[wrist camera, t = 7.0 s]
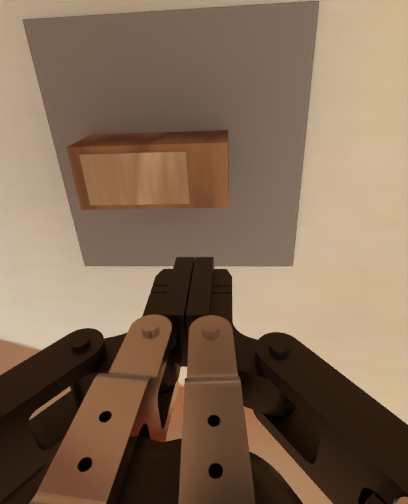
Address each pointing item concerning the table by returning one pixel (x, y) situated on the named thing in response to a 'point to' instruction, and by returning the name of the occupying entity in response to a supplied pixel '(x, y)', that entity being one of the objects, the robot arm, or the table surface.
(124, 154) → the walnut block
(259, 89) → the slate mat
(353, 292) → the table surface
